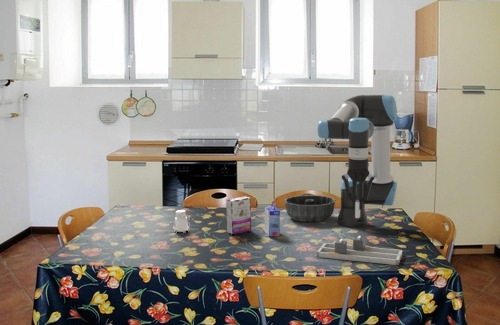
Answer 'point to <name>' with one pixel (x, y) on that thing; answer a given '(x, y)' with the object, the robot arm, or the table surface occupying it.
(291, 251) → the table surface
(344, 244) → the tab
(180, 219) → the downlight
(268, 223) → the ink cartridge box
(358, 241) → the tab
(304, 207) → the bundt pan
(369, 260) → the tray
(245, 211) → the candy bar box
